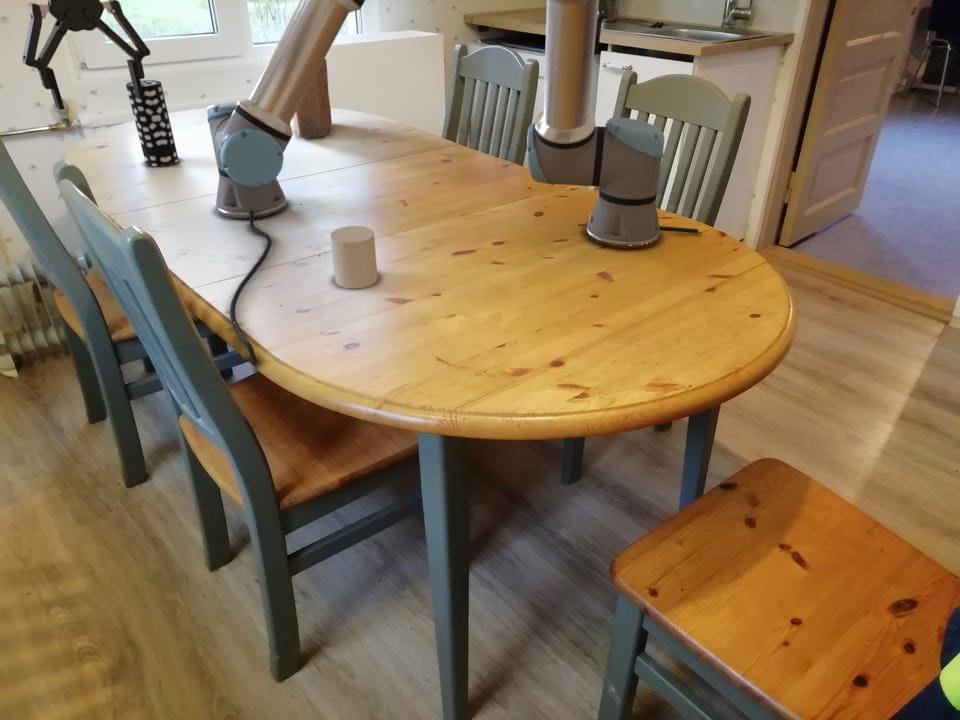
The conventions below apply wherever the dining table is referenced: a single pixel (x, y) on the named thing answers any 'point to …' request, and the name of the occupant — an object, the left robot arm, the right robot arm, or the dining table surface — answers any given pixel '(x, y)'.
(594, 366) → the dining table surface
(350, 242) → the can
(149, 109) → the black white spotted cylinder
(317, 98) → the stone
